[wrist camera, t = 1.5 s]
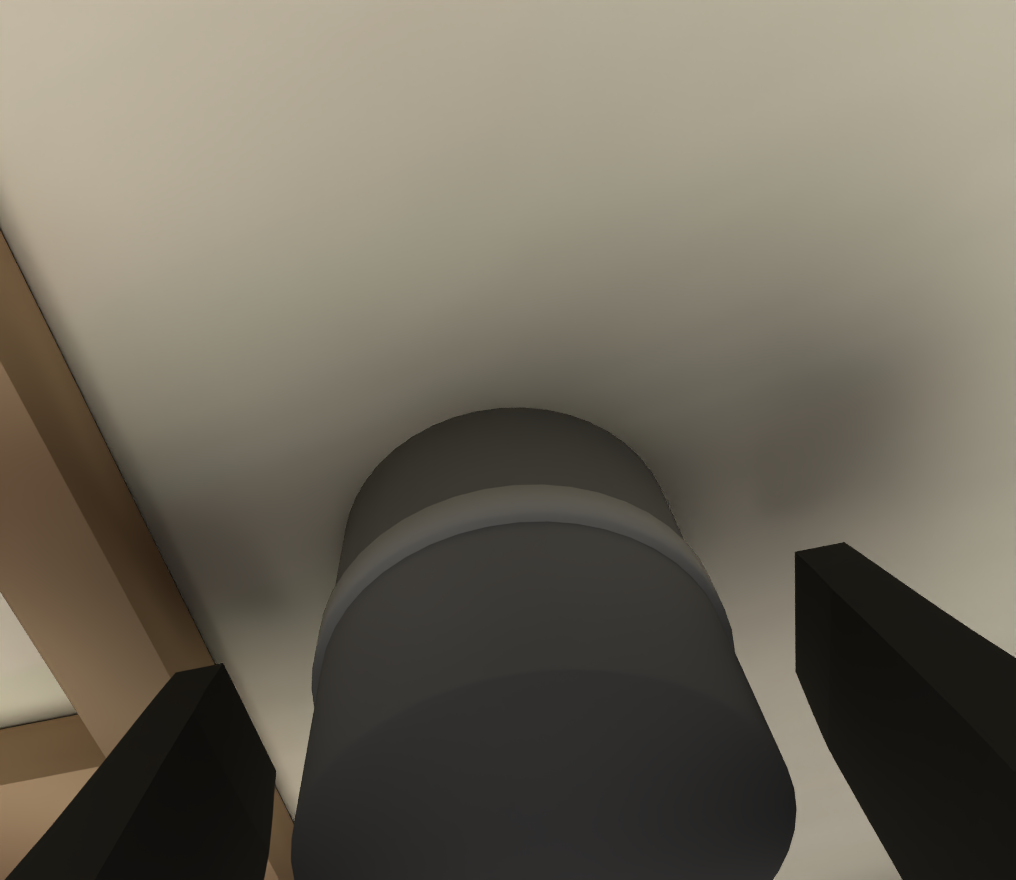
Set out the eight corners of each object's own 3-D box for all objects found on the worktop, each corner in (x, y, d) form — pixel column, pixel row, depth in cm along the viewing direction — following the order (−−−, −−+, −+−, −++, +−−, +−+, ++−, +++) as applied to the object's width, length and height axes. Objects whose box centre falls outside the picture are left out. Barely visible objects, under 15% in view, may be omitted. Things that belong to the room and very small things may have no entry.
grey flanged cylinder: (688, 644, 14) (806, 952, 9) (386, 702, 14) (362, 1032, 9) (660, 367, 11) (806, 608, 7) (291, 440, 11) (197, 724, 7)
